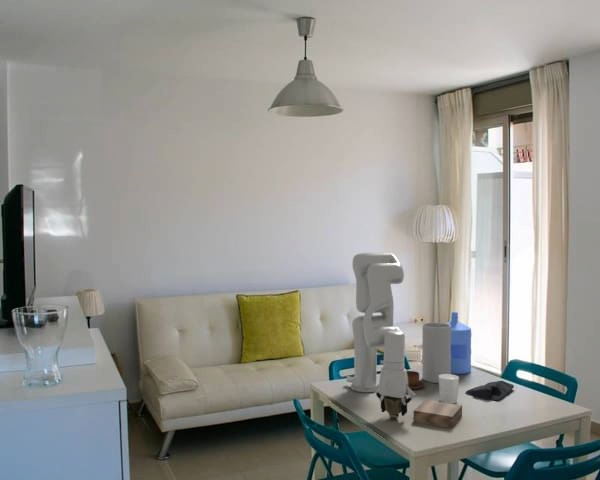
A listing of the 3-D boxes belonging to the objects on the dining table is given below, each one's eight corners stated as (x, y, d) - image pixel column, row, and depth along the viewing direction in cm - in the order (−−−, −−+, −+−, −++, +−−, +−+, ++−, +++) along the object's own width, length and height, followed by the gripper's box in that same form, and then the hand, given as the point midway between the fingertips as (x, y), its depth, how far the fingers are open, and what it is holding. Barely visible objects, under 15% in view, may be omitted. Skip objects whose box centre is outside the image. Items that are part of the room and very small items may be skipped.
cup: (383, 420, 209) (383, 398, 208) (383, 413, 216) (383, 392, 216) (404, 421, 208) (404, 399, 207) (403, 414, 215) (404, 393, 214)
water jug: (446, 364, 289) (446, 309, 288) (476, 369, 279) (476, 312, 278) (431, 371, 277) (432, 313, 276) (463, 376, 267) (463, 316, 266)
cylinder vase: (430, 384, 255) (430, 328, 254) (417, 377, 267) (417, 323, 266) (455, 382, 258) (456, 327, 257) (442, 375, 270) (442, 322, 269)
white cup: (459, 404, 227) (459, 379, 227) (438, 403, 229) (438, 378, 228) (458, 398, 235) (458, 374, 234) (438, 397, 236) (438, 373, 236)
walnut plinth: (413, 421, 209) (413, 410, 209) (425, 410, 221) (425, 399, 221) (452, 428, 202) (452, 416, 202) (462, 416, 214) (462, 405, 214)
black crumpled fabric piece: (520, 391, 246) (520, 380, 246) (497, 403, 230) (497, 391, 230) (486, 384, 256) (486, 373, 256) (462, 395, 241) (462, 384, 241)
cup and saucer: (391, 387, 251) (391, 373, 251) (405, 381, 260) (405, 368, 260) (415, 392, 243) (415, 378, 243) (429, 386, 252) (429, 372, 252)
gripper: (368, 364, 212) (367, 412, 213) (413, 370, 203) (413, 420, 204) (375, 359, 218) (375, 405, 219) (420, 365, 210) (420, 413, 211)
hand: (393, 412), depth 212 cm, fingers closed on cup, 7 cm apart
